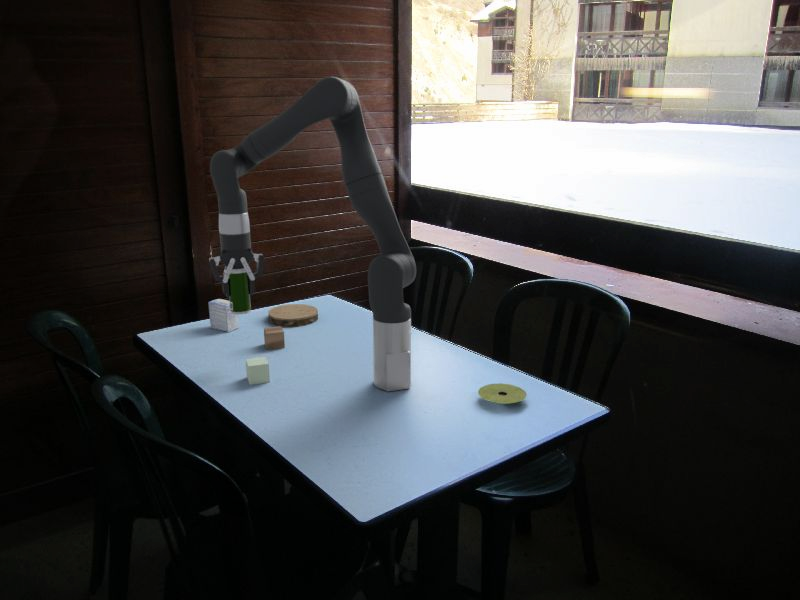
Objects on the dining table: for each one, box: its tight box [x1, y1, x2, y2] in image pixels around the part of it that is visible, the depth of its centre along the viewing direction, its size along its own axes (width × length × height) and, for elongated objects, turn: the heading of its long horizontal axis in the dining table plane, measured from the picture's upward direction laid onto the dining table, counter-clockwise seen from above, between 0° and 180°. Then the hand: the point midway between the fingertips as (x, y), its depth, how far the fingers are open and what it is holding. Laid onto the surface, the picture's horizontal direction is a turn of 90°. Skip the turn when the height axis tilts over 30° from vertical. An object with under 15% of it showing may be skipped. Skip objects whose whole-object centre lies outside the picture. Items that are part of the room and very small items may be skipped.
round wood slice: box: [267, 303, 319, 328], centre depth 214 cm, size 16×16×3 cm
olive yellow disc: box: [477, 382, 528, 405], centre depth 154 cm, size 11×11×2 cm
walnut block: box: [263, 326, 286, 351], centre depth 189 cm, size 5×5×5 cm
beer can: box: [228, 268, 252, 316], centre depth 171 cm, size 5×5×12 cm
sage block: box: [245, 356, 271, 386], centre depth 166 cm, size 5×5×5 cm
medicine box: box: [208, 298, 239, 333], centre depth 204 cm, size 8×4×9 cm, turn 58°
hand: (239, 294), depth 171 cm, fingers closed on beer can, 5 cm apart
